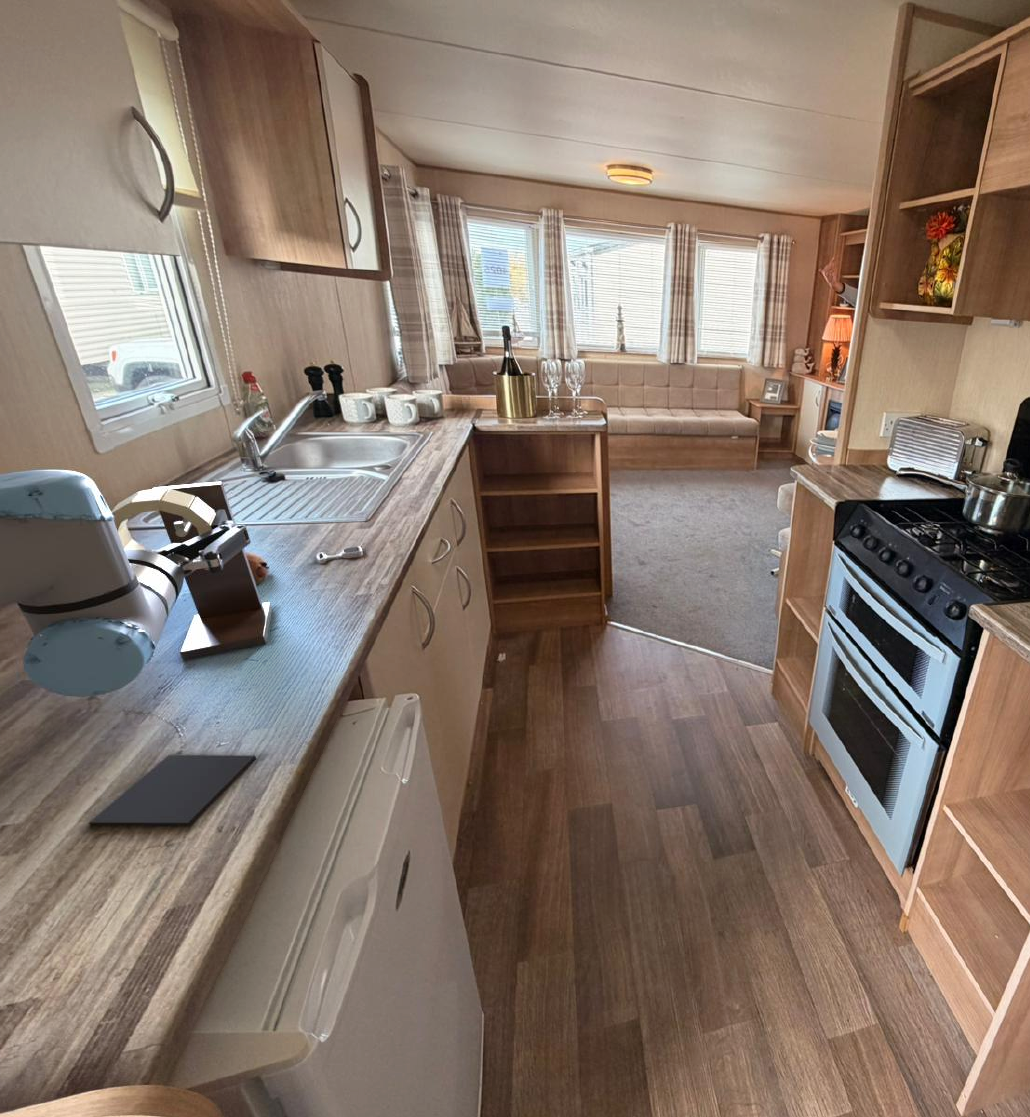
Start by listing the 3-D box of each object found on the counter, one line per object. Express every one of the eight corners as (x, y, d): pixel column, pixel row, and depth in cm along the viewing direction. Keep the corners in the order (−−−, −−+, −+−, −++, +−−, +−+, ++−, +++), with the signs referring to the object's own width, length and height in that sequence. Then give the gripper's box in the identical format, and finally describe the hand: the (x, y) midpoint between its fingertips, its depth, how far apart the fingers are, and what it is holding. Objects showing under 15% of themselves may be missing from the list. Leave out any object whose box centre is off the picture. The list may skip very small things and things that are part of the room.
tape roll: (129, 569, 78) (97, 494, 74) (230, 555, 83) (206, 484, 79) (119, 584, 74) (85, 506, 70) (225, 569, 80) (200, 495, 75)
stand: (197, 623, 98) (144, 487, 88) (272, 609, 103) (230, 479, 94) (183, 661, 89) (122, 514, 79) (266, 644, 94) (218, 504, 84)
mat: (90, 827, 62) (88, 822, 62) (170, 758, 71) (168, 754, 71) (190, 827, 63) (187, 823, 63) (256, 759, 72) (255, 755, 72)
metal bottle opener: (363, 557, 124) (362, 551, 123) (317, 565, 120) (316, 559, 119) (361, 550, 127) (360, 544, 127) (317, 557, 123) (315, 551, 122)
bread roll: (220, 592, 115) (183, 563, 110) (273, 561, 118) (240, 531, 113) (221, 613, 108) (183, 583, 103) (277, 579, 112) (243, 548, 107)
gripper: (-14, 650, 59) (62, 565, 76) (272, 601, 71) (283, 536, 87) (-52, 583, 56) (36, 510, 73) (254, 543, 67) (269, 488, 84)
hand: (171, 524), depth 80 cm, fingers closed on tape roll, 10 cm apart
